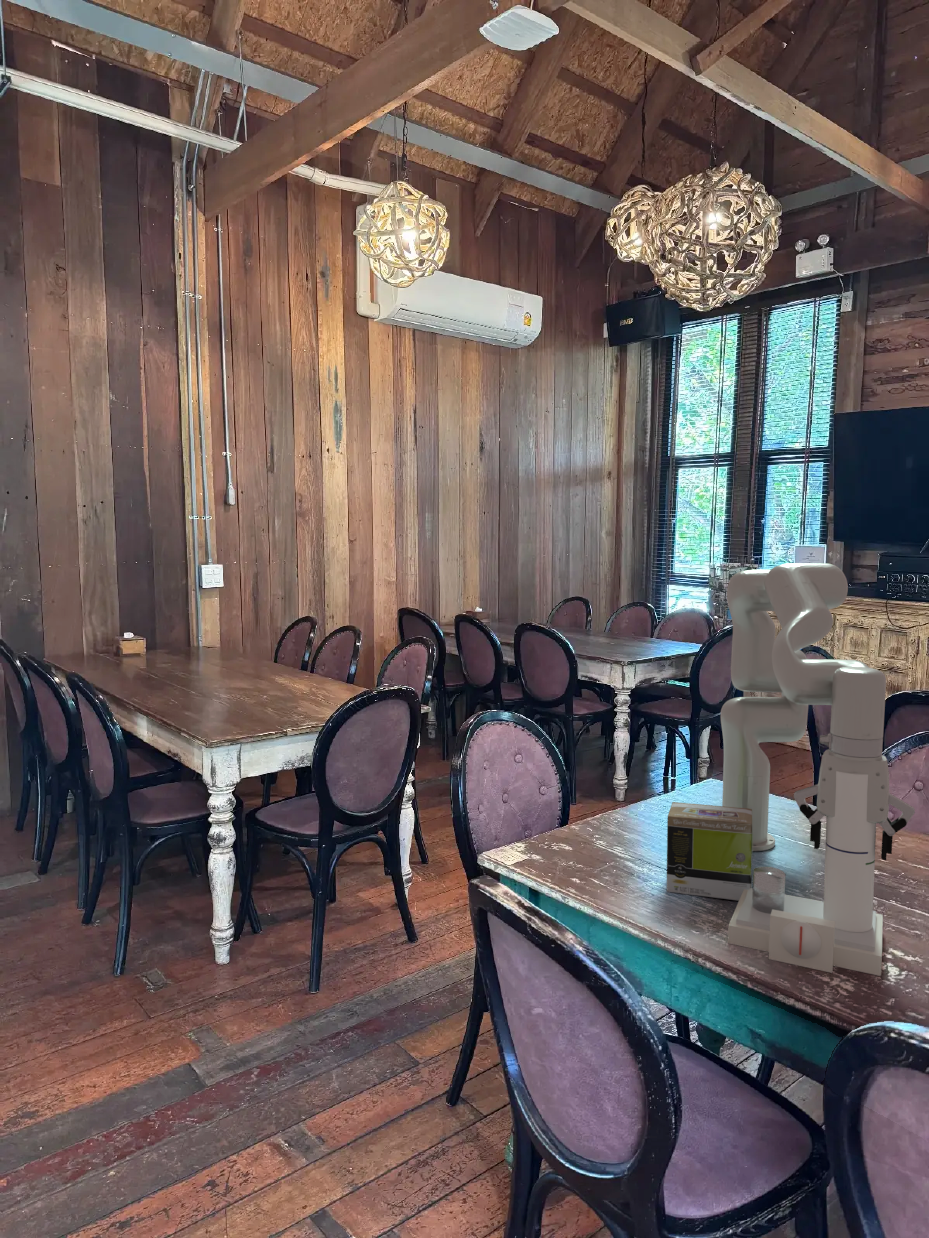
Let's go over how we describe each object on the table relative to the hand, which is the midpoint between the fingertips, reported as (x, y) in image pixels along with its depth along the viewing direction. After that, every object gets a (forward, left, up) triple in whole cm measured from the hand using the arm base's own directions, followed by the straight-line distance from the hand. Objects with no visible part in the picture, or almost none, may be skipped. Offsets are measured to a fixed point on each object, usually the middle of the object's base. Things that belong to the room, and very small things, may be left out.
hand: (849, 851), depth 131 cm
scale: (-6, -2, -15) cm, 17 cm away
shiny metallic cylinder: (-12, 0, -12) cm, 17 cm away
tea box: (-24, +13, -16) cm, 31 cm away
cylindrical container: (0, 0, -12) cm, 12 cm away
